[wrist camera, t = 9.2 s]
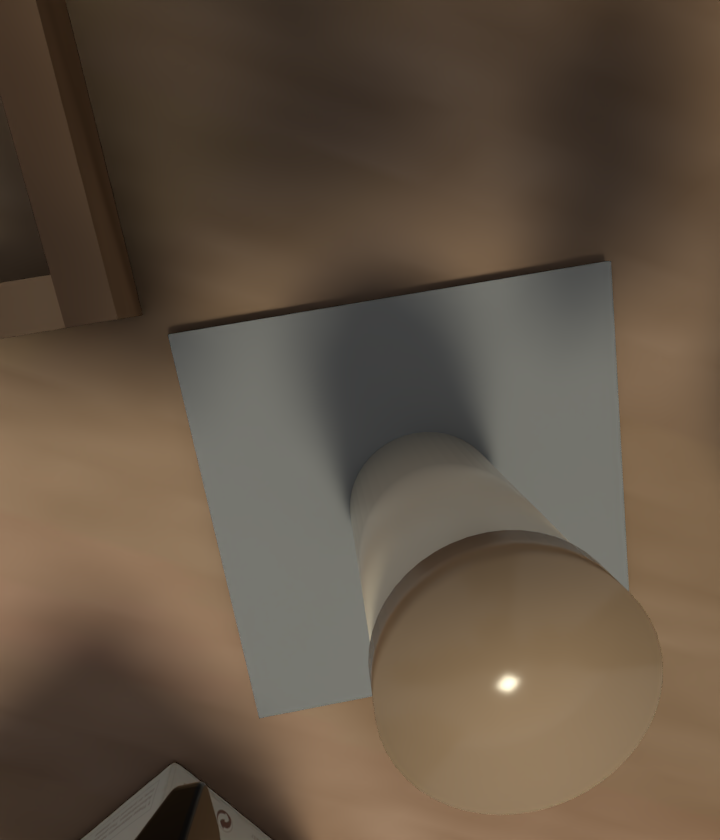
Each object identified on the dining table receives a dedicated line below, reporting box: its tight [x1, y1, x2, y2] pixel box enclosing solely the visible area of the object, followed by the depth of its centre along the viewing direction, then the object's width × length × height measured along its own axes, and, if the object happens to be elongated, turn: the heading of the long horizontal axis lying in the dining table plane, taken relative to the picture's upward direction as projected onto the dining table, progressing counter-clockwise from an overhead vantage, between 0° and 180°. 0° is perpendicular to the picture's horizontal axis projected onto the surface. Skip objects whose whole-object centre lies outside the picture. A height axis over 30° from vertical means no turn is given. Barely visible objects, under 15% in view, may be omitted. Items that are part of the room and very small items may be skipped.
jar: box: [350, 432, 663, 815], centre depth 13 cm, size 5×5×8 cm
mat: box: [168, 261, 629, 718], centre depth 17 cm, size 12×12×1 cm
